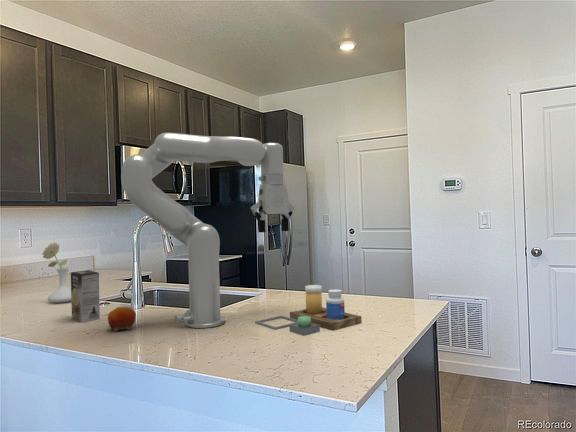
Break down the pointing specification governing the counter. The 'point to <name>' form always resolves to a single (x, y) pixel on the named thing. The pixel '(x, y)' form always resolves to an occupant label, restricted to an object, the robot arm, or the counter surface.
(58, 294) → the flower in vase
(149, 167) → the robot arm
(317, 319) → the wooden bottle holder
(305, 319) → the button
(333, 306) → the pill bottle
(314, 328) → the button housing
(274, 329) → the gray square frame
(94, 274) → the coffee box
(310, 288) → the seated bottle
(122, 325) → the fruit
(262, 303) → the counter surface
